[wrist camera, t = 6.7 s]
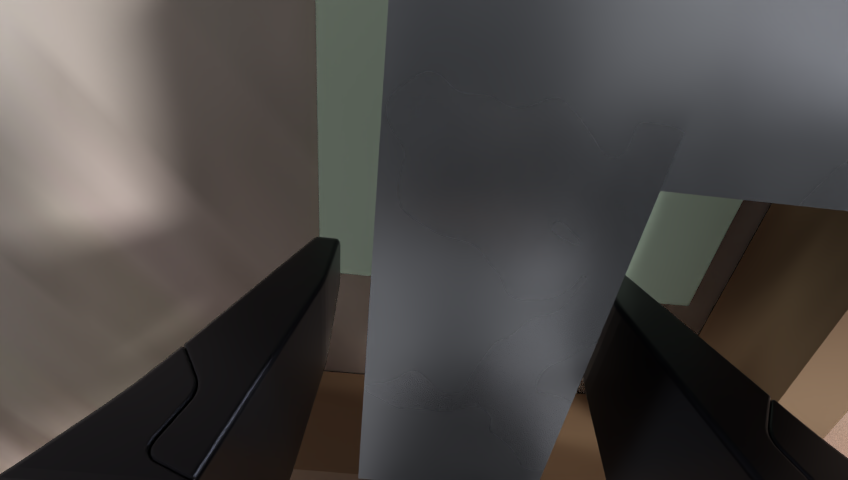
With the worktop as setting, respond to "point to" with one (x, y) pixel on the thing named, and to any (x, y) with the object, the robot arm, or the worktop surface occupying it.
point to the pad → (359, 151)
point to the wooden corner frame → (724, 331)
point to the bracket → (562, 194)
